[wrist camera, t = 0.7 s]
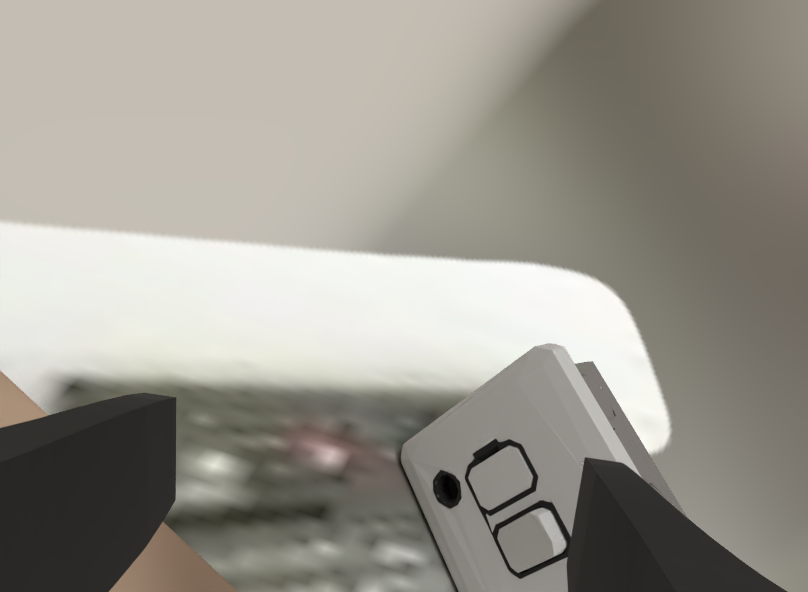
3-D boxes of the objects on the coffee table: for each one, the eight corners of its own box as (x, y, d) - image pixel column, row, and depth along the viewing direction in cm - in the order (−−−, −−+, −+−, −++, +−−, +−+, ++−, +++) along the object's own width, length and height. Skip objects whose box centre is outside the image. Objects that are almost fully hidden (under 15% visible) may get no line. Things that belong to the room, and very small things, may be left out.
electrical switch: (390, 450, 29) (511, 344, 23) (475, 424, 32) (602, 324, 26) (488, 673, 26) (664, 622, 19) (573, 619, 29) (749, 559, 22)
